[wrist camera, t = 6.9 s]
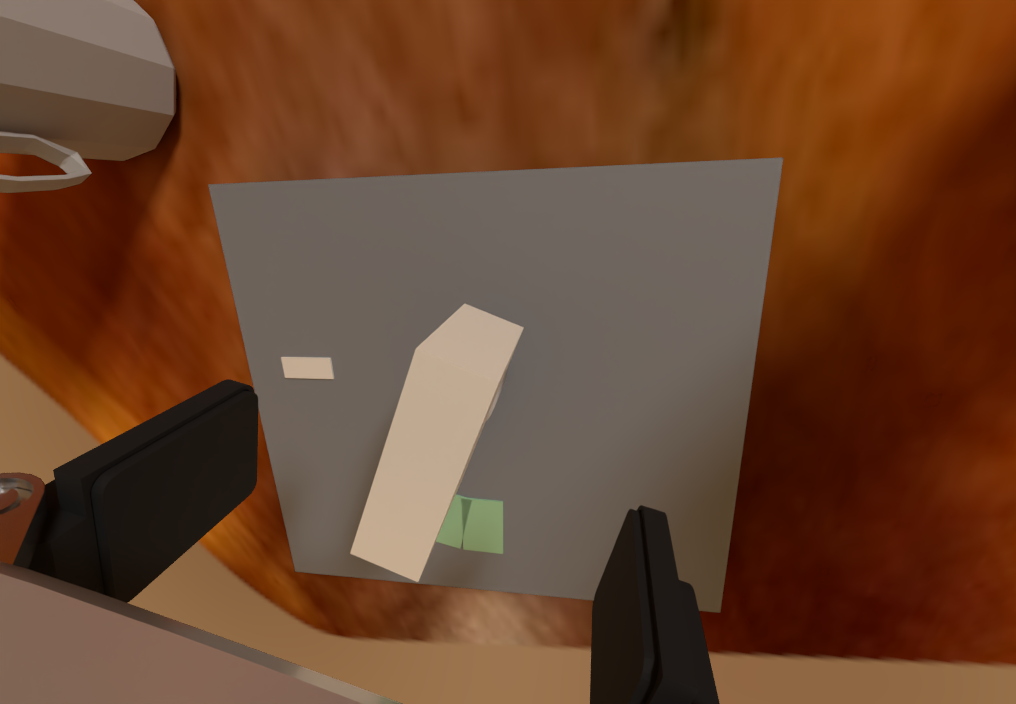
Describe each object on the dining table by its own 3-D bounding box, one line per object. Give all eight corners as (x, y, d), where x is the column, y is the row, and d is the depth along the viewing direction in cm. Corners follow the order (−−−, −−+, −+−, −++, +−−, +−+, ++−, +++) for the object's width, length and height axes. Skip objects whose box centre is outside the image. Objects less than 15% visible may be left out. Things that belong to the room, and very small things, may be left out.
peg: (480, 285, 19) (412, 347, 11) (535, 308, 19) (502, 384, 11) (398, 516, 23) (310, 668, 16) (442, 534, 23) (375, 696, 16)
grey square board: (757, 162, 18) (784, 157, 16) (707, 572, 25) (721, 614, 22) (248, 185, 22) (206, 184, 19) (319, 540, 28) (294, 573, 26)
